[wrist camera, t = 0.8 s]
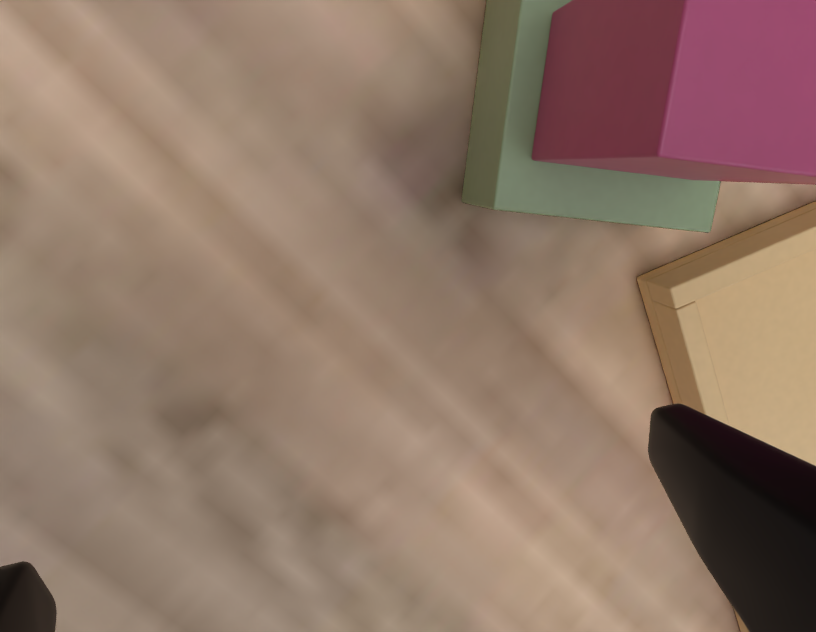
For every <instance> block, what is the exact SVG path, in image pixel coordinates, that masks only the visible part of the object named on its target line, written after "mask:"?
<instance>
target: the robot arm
mask: <svg viewBox="0 0 816 632" xmlns="http://www.w3.org/2000/svg"><path fill="white" fill-rule="evenodd" d="M648 453H649V458H650V461H651V464H652V466H653V468H654V470H655V472H656V474H657V476H658V478H659V480H660V482H661V483H662V485H663V487H664V489H665V491H666V493H667V495H668V497H669V499H670V501H671V503H672V505H673V507H674V509H675V511H676V512H677V514H678V516H679V518H680V520H681V522H682V524H683V526H684V528H685V530H686V532H687V534H688V536H689V538H690V539H691V541H692V543H693V545H694V547H695V548H696V550H697V552H698V554H699V555H700V557H701V559H702V560H703V562H704V563H705V565H706V567H707V568H708V570H709V571H710V573H711V574H712V576H713V577H714V579H715V580H716V582H717V583H718V585H719V586H720V588H721V589H722V591H723V592H724V594H725V595H726V597H727V598H728V600H729V601H730V603H731V604H732V606H733V607H734V609H735V610H736V612H737V614H738V615H739V617H740V618H741V620H742V621H743V623H744V624H745V626H746V627H747V629H748V630H749V632H816V466H815V465H813V464H811V463H808V462H806V461H804V460H802V459H800V458H798V457H796V456H793V455H791V454H789V453H787V452H785V451H783V450H781V449H778V448H776V447H774V446H772V445H770V444H768V443H765V442H763V441H761V440H759V439H757V438H755V437H753V436H750V435H748V434H746V433H744V432H742V431H740V430H738V429H735V428H733V427H731V426H729V425H727V424H725V423H723V422H720V421H718V420H716V419H714V418H712V417H710V416H708V415H705V414H703V413H701V412H699V411H697V410H695V409H692V408H690V407H688V406H686V405H683V404H680V403H677V404H672V405H667V406H663V407H659V408H656V409H655V410H654V411H653V412H652V414H651V421H650V433H649V444H648ZM55 626H56V604H55V601H54V598H53V596H52V594H51V593H50V591H49V590H48V588H47V587H46V585H45V584H44V582H43V580H42V579H41V577H40V576H39V574H38V573H37V571H36V570H35V568H34V567H33V566H32V564H30V563H28V562H18V563H14V564H10V565H6V566H2V567H0V632H55Z"/></svg>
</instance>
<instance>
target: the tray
mask: <svg viewBox="0 0 816 632" xmlns="http://www.w3.org/2000/svg"><path fill="white" fill-rule="evenodd" d="M637 281H638V285H639V288H640V292H641V295H642V298H643V302H644V305H645V309H646V312H647V315H648V319H649V322H650V325H651V329H652V332H653V336H654V339H655V342H656V346H657V349H658V353H659V356H660V359H661V363H662V366H663V370H664V373H665V376H666V380H667V383H668V387H669V390H670V393H671V397H672V400H673V404H677V403H680V404H683V405H686V406H688V407H690V408H692V409H695V410H697V411H699V412H701V413H703V414H705V415H708V416H710V417H712V418H714V419H716V420H718V421H720V422H723V423H725V424H727V425H729V426H731V427H733V428H735V429H738V430H740V431H742V432H744V433H746V434H748V435H750V436H753V437H755V438H757V439H759V440H761V441H763V442H765V443H768V444H770V445H772V446H774V447H776V448H778V449H781V450H783V451H785V452H787V453H789V454H791V455H793V456H796V457H798V458H800V459H802V460H804V461H806V462H808V463H811V464H813V465H815V466H816V201H815V202H812V203H810V204H808V205H805V206H803V207H801V208H798V209H796V210H794V211H791V212H789V213H786V214H784V215H782V216H779V217H777V218H775V219H772V220H770V221H768V222H765V223H763V224H761V225H758V226H756V227H754V228H751V229H749V230H747V231H744V232H742V233H739V234H737V235H735V236H732V237H730V238H728V239H725V240H723V241H721V242H718V243H716V244H714V245H711V246H709V247H707V248H704V249H702V250H700V251H697V252H695V253H692V254H690V255H688V256H685V257H683V258H681V259H678V260H676V261H674V262H671V263H669V264H667V265H664V266H662V267H660V268H657V269H655V270H653V271H650V272H648V273H645V274H643V275H641V276H638V277H637ZM733 608H734V607H733ZM734 611H735V614H736V618H737V621H738V624H739V628H740V631H741V632H749V630H748V629H747V627H746V626H745V624H744V623H743V621H742V620H741V618H740V617H739V615H738V614H737V612H736V610H735V609H734Z"/></svg>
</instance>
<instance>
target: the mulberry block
mask: <svg viewBox="0 0 816 632" xmlns="http://www.w3.org/2000/svg"><path fill="white" fill-rule="evenodd" d="M532 160H534V161H541V162H549V163H558V164H566V165H574V166H582V167H590V168H598V169H607V170H615V171H623V172H631V173H639V174H647V175H656V176H664V177H672V178H680V179H688V180H703V181H731V182H759V183H787V184H815V185H816V0H572V1H570V2H569V3H567V4H565V5H564V6H562V7H561V8H559V9H557V10H556V11H554V12H553V14H552V20H551V27H550V34H549V41H548V48H547V55H546V62H545V69H544V76H543V82H542V89H541V96H540V103H539V110H538V117H537V124H536V131H535V138H534V144H533V151H532Z"/></svg>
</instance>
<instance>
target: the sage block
mask: <svg viewBox="0 0 816 632" xmlns="http://www.w3.org/2000/svg"><path fill="white" fill-rule="evenodd" d="M570 1H572V0H487V1H486V9H485V17H484V25H483V33H482V41H481V49H480V57H479V65H478V72H477V80H476V88H475V96H474V104H473V112H472V120H471V128H470V136H469V144H468V152H467V160H466V168H465V176H464V184H463V192H462V202H463V203H467V204H471V205H475V206H480V207H484V208H489V209H493V210H501V211H510V212H519V213H529V214H538V215H547V216H557V217H566V218H575V219H585V220H594V221H603V222H612V223H622V224H631V225H640V226H650V227H659V228H668V229H678V230H687V231H696V232H706V233H708V232H710V231H711V227H712V222H713V217H714V212H715V207H716V203H717V198H718V193H719V188H720V183H721V181H703V180H688V179H680V178H672V177H664V176H656V175H647V174H639V173H631V172H623V171H615V170H607V169H598V168H590V167H582V166H574V165H566V164H558V163H549V162H541V161H534V160H532V151H533V144H534V138H535V131H536V124H537V117H538V110H539V103H540V96H541V89H542V82H543V76H544V69H545V62H546V55H547V48H548V41H549V34H550V27H551V20H552V14H553V12H554V11H556V10H557V9H559V8H561V7H562V6H564V5H565V4H567V3H569V2H570Z"/></svg>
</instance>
